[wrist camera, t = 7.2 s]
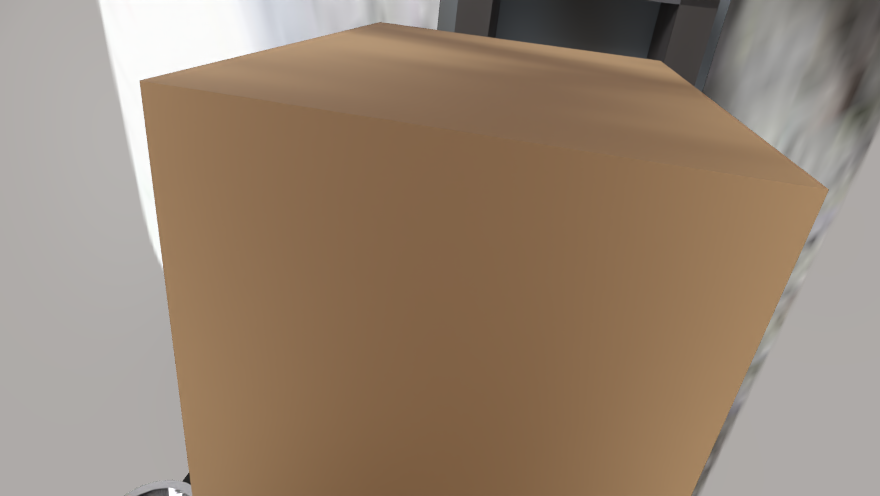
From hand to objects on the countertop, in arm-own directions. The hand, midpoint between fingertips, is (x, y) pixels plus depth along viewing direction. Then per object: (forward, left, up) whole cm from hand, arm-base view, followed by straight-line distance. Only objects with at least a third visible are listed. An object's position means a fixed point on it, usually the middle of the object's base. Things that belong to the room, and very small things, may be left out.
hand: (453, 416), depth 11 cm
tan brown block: (0, 0, -1) cm, 1 cm away
